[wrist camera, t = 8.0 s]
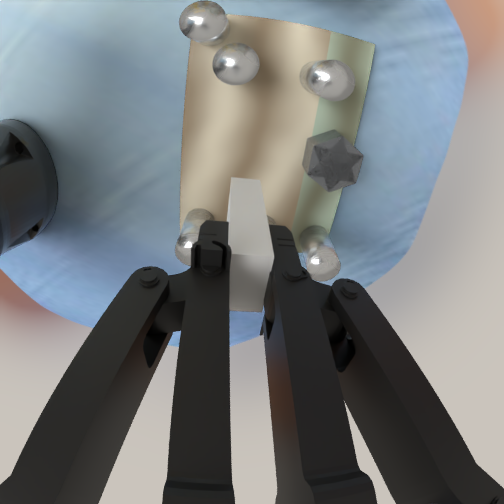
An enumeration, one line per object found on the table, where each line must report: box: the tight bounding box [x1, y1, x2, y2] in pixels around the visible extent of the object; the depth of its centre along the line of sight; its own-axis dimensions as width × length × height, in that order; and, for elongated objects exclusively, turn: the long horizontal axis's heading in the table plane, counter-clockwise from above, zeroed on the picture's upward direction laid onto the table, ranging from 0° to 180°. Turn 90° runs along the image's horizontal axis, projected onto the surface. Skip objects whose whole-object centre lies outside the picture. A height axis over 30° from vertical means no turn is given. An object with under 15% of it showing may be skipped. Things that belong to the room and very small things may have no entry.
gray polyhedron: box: [302, 129, 363, 192], centre depth 24 cm, size 5×4×2 cm
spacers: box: [175, 1, 355, 281], centre depth 22 cm, size 15×22×5 cm
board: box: [180, 14, 375, 253], centre depth 24 cm, size 15×22×1 cm
